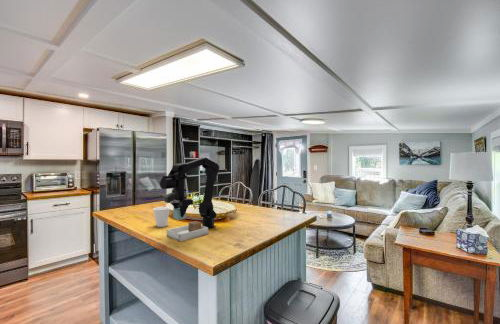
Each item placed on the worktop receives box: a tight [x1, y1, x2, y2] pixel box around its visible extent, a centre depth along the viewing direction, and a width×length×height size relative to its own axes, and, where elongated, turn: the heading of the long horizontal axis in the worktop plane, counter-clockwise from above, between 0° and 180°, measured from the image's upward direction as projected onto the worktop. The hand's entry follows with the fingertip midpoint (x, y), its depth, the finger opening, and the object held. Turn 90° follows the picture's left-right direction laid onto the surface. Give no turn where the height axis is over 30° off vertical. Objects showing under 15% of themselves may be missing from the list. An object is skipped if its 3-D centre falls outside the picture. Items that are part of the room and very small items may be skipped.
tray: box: [166, 224, 209, 242], centre depth 139 cm, size 18×13×4 cm
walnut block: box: [187, 220, 202, 232], centre depth 142 cm, size 5×5×5 cm
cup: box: [152, 206, 171, 228], centre depth 157 cm, size 10×10×11 cm
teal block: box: [172, 208, 187, 221], centre depth 136 cm, size 5×5×5 cm
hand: (179, 216), depth 136 cm, fingers closed on teal block, 5 cm apart
